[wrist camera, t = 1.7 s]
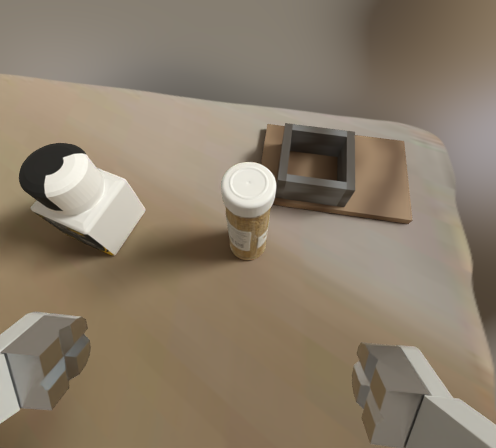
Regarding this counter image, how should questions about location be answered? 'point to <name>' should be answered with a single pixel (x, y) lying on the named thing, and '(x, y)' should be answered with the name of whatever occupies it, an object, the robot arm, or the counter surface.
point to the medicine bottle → (80, 197)
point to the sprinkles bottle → (248, 207)
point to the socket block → (338, 172)
